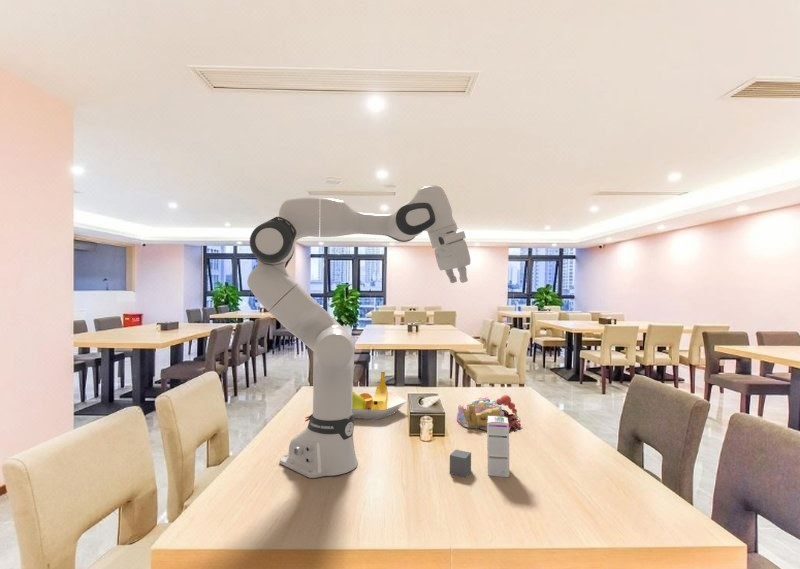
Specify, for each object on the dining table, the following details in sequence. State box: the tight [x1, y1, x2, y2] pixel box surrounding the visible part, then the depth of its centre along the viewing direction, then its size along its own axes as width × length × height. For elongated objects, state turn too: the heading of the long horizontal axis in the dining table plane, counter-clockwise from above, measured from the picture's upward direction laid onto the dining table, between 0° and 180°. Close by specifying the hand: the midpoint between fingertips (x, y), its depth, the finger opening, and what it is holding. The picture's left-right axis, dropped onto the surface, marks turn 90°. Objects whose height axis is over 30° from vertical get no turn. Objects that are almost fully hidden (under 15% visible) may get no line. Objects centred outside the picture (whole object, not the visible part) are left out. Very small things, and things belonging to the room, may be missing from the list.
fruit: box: [352, 371, 408, 420], centre depth 165 cm, size 30×26×14 cm
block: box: [449, 449, 472, 478], centre depth 111 cm, size 4×4×5 cm
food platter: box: [456, 394, 522, 431], centre depth 154 cm, size 25×24×9 cm
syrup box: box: [486, 416, 510, 478], centre depth 111 cm, size 6×6×14 cm
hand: (459, 282), depth 123 cm, fingers open, 8 cm apart
